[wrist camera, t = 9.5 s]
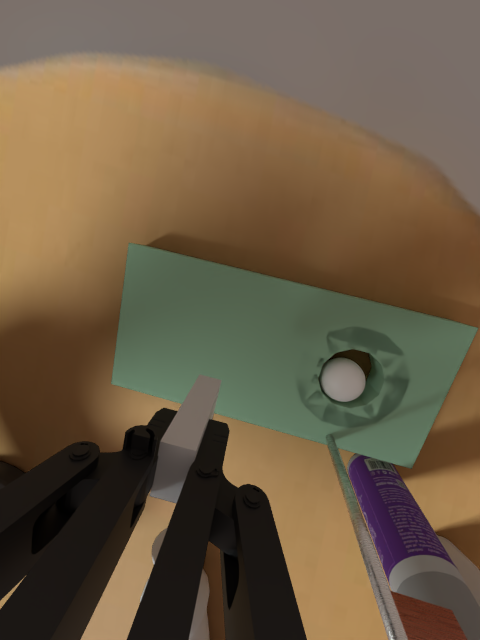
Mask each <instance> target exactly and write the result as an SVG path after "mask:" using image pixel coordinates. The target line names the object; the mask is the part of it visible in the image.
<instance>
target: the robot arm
mask: <svg viewBox="0 0 480 640" xmlns="http://www.w3.org/2000/svg"><path fill="white" fill-rule="evenodd" d="M221 381H222V380H219V379H216V378H212V377H208V376H204V375H200V374H199V376H198V378H197V380H196V381H195V383H194V385H193V386H192V388H191V390H190V391H189V393H188V395H187V397H186V398H185V400H184V402H183V403H182V405H181V407H180V409H179V410H178V411H174V410H171V409H167V408H163V409H161V410H159V411H157V412H156V413H155V415H154V416H153V417H152V419H151V420H150V422H149V423H148V424H147V426H144V425H140V426H134V427H132V428H130V429H128V430H127V431H126V432H125V438H124V445H123V449H122V451H119V452H112V453H100V450H99V446H97V445H96V444H95V443H92V442H85V441H82V442H77V443H74V444H72V445H70V446H68V447H66V448H64V449H63V450H61V451H60V452H58V453H57V454H55V455H53V456H52V457H50V458H49V459H47V460H46V461H44V462H43V463H41V464H39V465H38V466H36V467H35V468H33V469H32V470H30V471H28V472H27V473H23V472H22V471H20V470H19V469H17V468H15V467H13V466H11V465H9V464H7V463H4V462H1V461H0V600H1V599H2V598H3V597H4V596H5V595H6V594H7V593H9V592H10V591H11V590H12V589H13V588H14V587H15V586H16V585H17V584H18V583H19V582H20V581H21V580H22V579H23V578H24V577H25V576H26V577H25V578H24V579H23V580H22V582H21V583H20V584H19V586H18V587H17V588H16V590H15V591H14V592H13V594H12V595H11V596H10V598H9V599H8V600H7V601H6V603H5V604H4V605H3V607H2V608H1V609H0V640H80V639H81V637H82V635H83V633H84V631H85V629H86V627H87V625H88V623H89V621H90V619H91V617H92V615H93V613H94V610H95V608H96V606H97V604H98V602H99V600H100V598H101V596H102V594H103V592H104V590H105V588H106V586H107V584H108V582H109V580H110V578H111V575H112V573H113V571H114V569H115V567H116V565H117V563H118V561H119V559H120V557H121V555H122V553H123V551H124V549H125V547H126V545H127V543H128V541H129V538H130V536H131V534H132V532H133V530H134V528H135V526H136V524H137V522H138V520H139V518H140V516H141V514H142V512H143V510H144V507H145V503H146V498H147V495H148V493H149V491H150V489H151V493H150V496H152V497H155V498H159V499H162V500H166V501H170V502H173V503H177V504H176V506H175V509H174V512H173V515H172V517H171V520H170V523H169V525H168V528H167V531H166V534H165V536H164V539H163V542H162V545H161V547H160V550H159V553H158V556H157V558H156V561H155V564H154V567H153V569H152V572H151V575H150V578H149V580H148V583H147V586H146V589H145V591H144V594H143V597H142V599H141V602H140V605H139V608H138V610H137V613H136V616H135V619H134V621H133V624H132V627H131V630H130V632H129V635H128V638H127V640H189V636H190V631H191V626H192V621H193V615H194V610H195V605H196V600H197V595H198V590H199V585H200V580H201V575H202V570H203V565H204V560H205V555H206V550H207V545H208V541H210V542H211V543H212V544H214V545H215V546H217V547H218V548H219V549H220V559H221V575H222V591H223V606H224V622H225V638H226V640H307V638H306V635H305V631H304V627H303V624H302V620H301V616H300V613H299V609H298V605H297V602H296V598H295V594H294V591H293V587H292V583H291V580H290V576H289V573H288V569H287V565H286V562H285V558H284V554H283V551H282V547H281V543H280V540H279V536H278V532H277V529H276V525H275V521H274V518H273V514H272V511H271V507H270V503H269V500H268V498H267V496H266V494H265V493H264V492H263V491H262V489H260V488H259V487H257V486H255V485H251V484H246V485H242V486H240V487H239V488H238V487H236V486H234V485H233V484H231V483H230V482H229V481H228V480H227V479H226V478H225V476H224V474H223V470H222V466H223V461H224V456H225V451H226V446H227V441H228V436H229V428H228V425H227V424H226V423H223V422H219V421H215V420H212V418H213V415H214V410H215V406H216V402H217V398H218V394H219V389H220V385H221Z"/></svg>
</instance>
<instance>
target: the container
mask: <svg viewBox="0 0 480 640" xmlns="http://www.w3.org/2000/svg"><path fill="white" fill-rule="evenodd" d="M347 470H348V474H349V477H350V480H351V482H352V485H353V488H354V490H355V493H356V496H357V499H358V501H359V504H360V507H361V509H362V512H363V515H364V517H365V520H366V523H367V525H368V528H369V531H370V534H371V536H372V539H373V542H374V544H375V547H376V550H377V552H378V555H379V558H380V560H381V563H382V566H383V569H384V571H385V574H386V577H387V579H388V582H389V585H390V587H391V590H392V591H393V592H396V593H399V594H402V595H406V596H409V597H412V598H415V599H418V600H422V601H425V602H428V603H431V604H434V605H437V606H441V607H444V608H447V609H450V610H452V611H453V613H454V615H455V617H456V619H457V621H458V623H459V625H460V627H461V629H462V630H463V632H464V634H465V636H466V638H467V640H480V606H479V605H478V603H477V601H476V600H475V598H474V596H473V595H472V593H471V591H470V589H469V588H468V586H467V584H466V583H465V581H464V579H463V578H462V576H461V574H460V572H459V571H458V569H457V567H456V566H455V564H454V562H453V561H452V559H451V558H450V556H449V554H448V553H447V551H446V549H445V548H444V546H443V545H442V543H441V541H440V540H439V538H438V537H437V535H436V533H435V532H434V530H433V528H432V527H431V525H430V524H429V522H428V520H427V519H426V517H425V515H424V514H423V512H422V511H421V509H420V507H419V506H418V504H417V502H416V501H415V499H414V498H413V496H412V494H411V493H410V491H409V489H408V488H407V486H406V485H405V483H404V481H403V480H402V478H401V476H400V475H399V473H398V472H397V470H396V468H395V467H394V465H393V464H392V463H389V462H386V461H382V460H378V459H375V458H371V457H368V456H364V455H361V454H357V453H356V454H355V455H354V456H353V457H352V458H351V459H350V460H349V463H348V467H347Z"/></svg>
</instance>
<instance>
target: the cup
mask: <svg viewBox="0 0 480 640" xmlns="http://www.w3.org/2000/svg"><path fill="white" fill-rule="evenodd" d="M437 537H438V538H439V540H440V541H441V543H442V545H443V546H444V548H445V549H446V551H447V553H448V554H449V556H450V558H451V559H452V561H453V562H454V564H455V566H456V567H457V569H458V571H459V572H460V574H461V576H462V578H463V579H464V581H465V583H466V584H467V586H468V588H469V589H470V591H471V593H472V595H473V596H474V598H475V600H476V601H477V603H478V605H479V606H480V570H479V569H478V568H477V567H476V566H475V565H474V564H473V563H472V562H471V561H470V560H469V559H468V558H467V557H466V556H465V555H464V554H463V553H462V552H461V551H460V550H459V549H458V548H457V547H456V546H455V545H453V544H452V543H451V542H450V541H449V540H448V539H446V538H444V537H442V536H438V535H437Z"/></svg>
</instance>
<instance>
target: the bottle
mask: <svg viewBox="0 0 480 640" xmlns="http://www.w3.org/2000/svg"><path fill="white" fill-rule="evenodd" d="M166 531H167V528H166V529H165V530H163V531H161V533H160V534H159V535H158V536H157V537H156V539H155V541H154V543H153V545H152V559H153V563H154V564H155V561H156V558H157V556H158V553H159V550H160V547H161V545H162V542H163V539H164V536H165V534H166ZM149 578H150V577H149ZM148 580H149V579H148ZM147 583H148V581H147ZM147 583H146V585H145V588H144V590H143V593H142V595H141V598H140V602H141V599H142V597H143V594H144V591H145V589H146V586H147ZM209 593H210V590H209V582H208V576H207V575H206V573H205V571H204V569H203V570H202V575H201V580H200V585H199V590H198V595H197V600H196V605H195V610H194V615H193V621H192V626H191V631H190V636H189V640H210V639H209V627H208V617H207V604H208V598H209Z"/></svg>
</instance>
